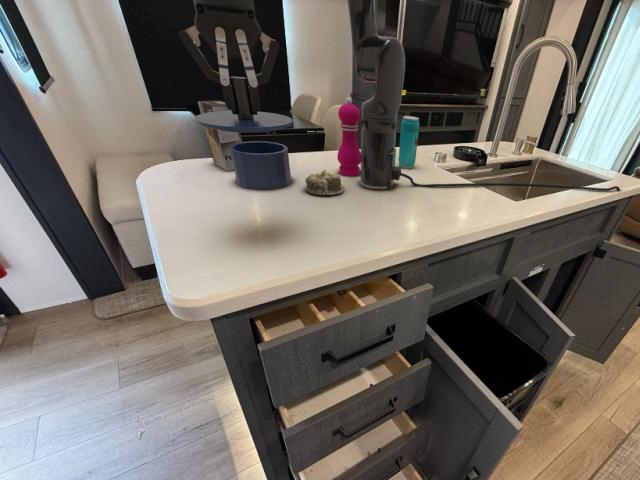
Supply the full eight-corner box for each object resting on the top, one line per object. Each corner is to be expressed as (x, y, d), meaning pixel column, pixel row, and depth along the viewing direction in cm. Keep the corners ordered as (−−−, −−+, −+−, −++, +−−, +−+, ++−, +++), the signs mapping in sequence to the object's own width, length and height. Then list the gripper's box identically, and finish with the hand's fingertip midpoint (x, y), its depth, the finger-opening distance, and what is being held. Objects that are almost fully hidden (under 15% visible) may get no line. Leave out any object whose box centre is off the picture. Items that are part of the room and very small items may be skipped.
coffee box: (248, 168, 95) (236, 105, 85) (226, 171, 91) (211, 105, 81) (233, 160, 99) (220, 100, 90) (212, 163, 95) (196, 100, 86)
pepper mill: (359, 177, 97) (360, 100, 85) (335, 175, 96) (333, 97, 84) (362, 170, 102) (363, 97, 90) (339, 168, 102) (338, 94, 90)
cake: (298, 194, 83) (294, 172, 80) (318, 184, 91) (316, 164, 87) (332, 198, 80) (329, 176, 77) (350, 188, 88) (348, 167, 85)
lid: (305, 123, 58) (302, 79, 54) (270, 139, 47) (262, 85, 43) (229, 114, 59) (219, 71, 55) (175, 128, 48) (158, 74, 44)
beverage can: (414, 170, 108) (420, 119, 99) (397, 168, 108) (401, 117, 99) (414, 165, 113) (419, 117, 104) (398, 163, 113) (402, 115, 104)
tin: (298, 177, 92) (295, 145, 87) (278, 192, 81) (273, 157, 76) (253, 171, 93) (247, 139, 88) (226, 185, 82) (218, 150, 77)
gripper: (147, -56, 36) (194, 117, 47) (276, -34, 41) (293, 119, 52) (157, -45, 42) (197, 108, 52) (270, -26, 47) (286, 111, 57)
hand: (245, 113), depth 52 cm, fingers closed on lid, 2 cm apart
